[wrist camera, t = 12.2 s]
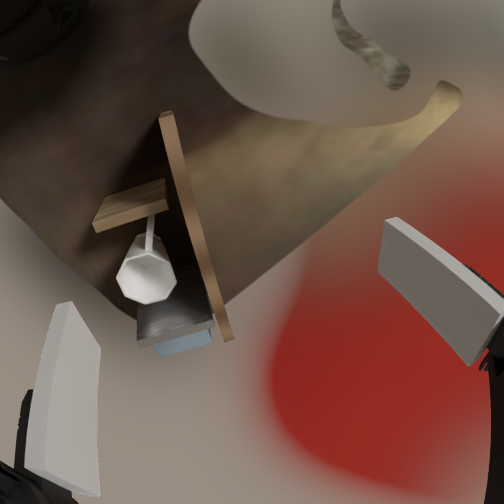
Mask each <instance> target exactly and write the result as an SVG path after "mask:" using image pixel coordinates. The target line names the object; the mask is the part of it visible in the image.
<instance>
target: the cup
mask: <svg viewBox="0 0 504 504" xmlns="http://www.w3.org/2000/svg"><path fill="white" fill-rule="evenodd" d="M154 220H155V214H153V215H150V216H148V221H147V231H146V232H145V233H142V234H139V235H137V236H136V238H135V240H134V242H133V243H132V245H131V247H130V249H129V251H128V253H127V254H126V256H125V259H124V261H123V263H122V265H121V268H120V270H119V272H118V274H117V276H116V279H117V281H118V283H119V286H120V288H121V290H122V292H123V294H124V296H125V297H127V298H130V299H132V300H135V301H137V302H140V303H142V304H145V305H146V304H150V303H153V302H157V301H161V300H165V299H167V297H168V296H169V294H170V292H171V291H172V289H173V288H174V286H175V285H176V283H177V281H176V278H175V275H174V272H173V269H172V266H171V263H170V260H169V258H168V255H167V252H166V249H165V246H164V244H163V243H162V241H161V238H160V236H158V235H156V234H154V233H153V232H154Z"/></svg>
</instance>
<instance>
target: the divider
mask: <svg viewBox="0 0 504 504" xmlns="http://www.w3.org/2000/svg"><path fill="white" fill-rule="evenodd" d="M166 210H169V205H168V188H167V183H166V180H165V178H162V179H159V180H156V181H153V182H149V183H146V184H143V185H140V186H137V187H134V188H131V189H128V190H125V191H122V192H119V193H116V194H113V195H110V196H107V197H105V199H104V201H103V202H102V204H101V206H100V208H99V210H98V212H97V214H96V216H95V218H94V220H93V222H92V224H93V226H94V229H95V231H96V233H98V232H101V231H104V230H107V229H110V228H113V227H116V226H119V225H122V224H125V223H128V222H131V221H134V220H137V219H140V218H143V217H147V216H150V215H153V214H156V213H159V212H163V211H166Z"/></svg>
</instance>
